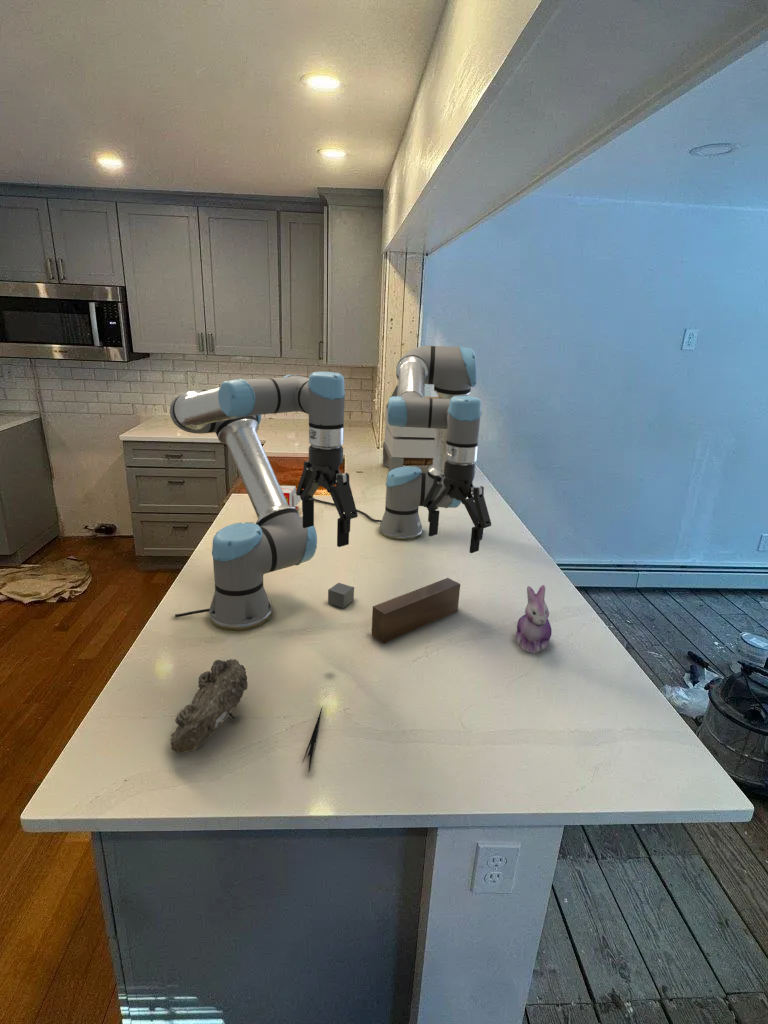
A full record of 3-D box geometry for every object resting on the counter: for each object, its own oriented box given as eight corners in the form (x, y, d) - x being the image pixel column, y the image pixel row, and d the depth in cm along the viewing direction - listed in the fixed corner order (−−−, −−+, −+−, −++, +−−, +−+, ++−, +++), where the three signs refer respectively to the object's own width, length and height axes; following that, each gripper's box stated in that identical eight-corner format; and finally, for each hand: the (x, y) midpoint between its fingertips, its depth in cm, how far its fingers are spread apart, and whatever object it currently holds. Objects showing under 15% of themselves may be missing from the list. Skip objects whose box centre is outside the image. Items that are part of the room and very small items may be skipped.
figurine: (532, 659, 131) (541, 601, 125) (504, 636, 139) (511, 581, 134) (562, 649, 135) (572, 593, 130) (533, 628, 143) (541, 575, 138)
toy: (302, 480, 222) (292, 494, 192) (302, 514, 224) (292, 532, 195) (271, 480, 221) (256, 493, 192) (271, 513, 224) (256, 531, 195)
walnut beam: (371, 635, 137) (372, 606, 135) (445, 604, 154) (447, 577, 151) (383, 643, 134) (384, 614, 131) (457, 610, 150) (460, 583, 148)
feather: (331, 679, 122) (336, 673, 122) (307, 777, 96) (313, 769, 95) (324, 675, 122) (329, 669, 121) (298, 772, 95) (304, 764, 95)
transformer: (381, 463, 289) (385, 382, 275) (444, 464, 292) (450, 384, 279) (389, 482, 257) (393, 392, 243) (459, 483, 261) (467, 394, 247)
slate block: (327, 603, 151) (328, 589, 150) (338, 595, 156) (338, 582, 154) (343, 608, 149) (343, 594, 148) (353, 600, 153) (354, 587, 152)
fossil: (195, 660, 117) (247, 628, 112) (227, 691, 120) (279, 661, 115) (146, 746, 98) (206, 711, 93) (185, 779, 101) (245, 748, 96)
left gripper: (280, 436, 130) (282, 522, 137) (347, 460, 112) (345, 558, 120) (308, 432, 134) (307, 516, 142) (376, 455, 117) (372, 549, 124)
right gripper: (412, 453, 143) (407, 531, 150) (492, 476, 126) (483, 563, 133) (432, 449, 148) (427, 525, 155) (512, 470, 131) (502, 555, 138)
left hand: (324, 535), depth 131 cm, fingers open, 13 cm apart
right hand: (452, 543), depth 144 cm, fingers open, 13 cm apart
